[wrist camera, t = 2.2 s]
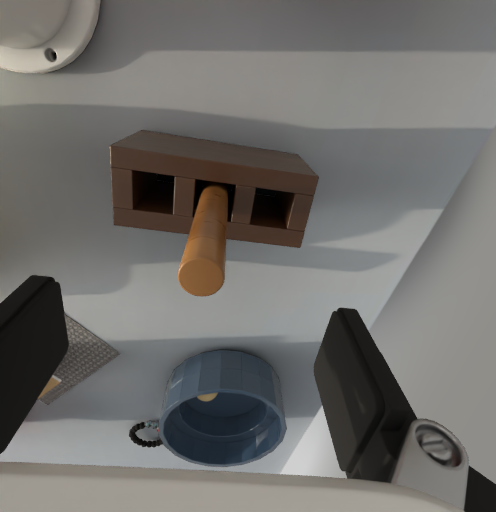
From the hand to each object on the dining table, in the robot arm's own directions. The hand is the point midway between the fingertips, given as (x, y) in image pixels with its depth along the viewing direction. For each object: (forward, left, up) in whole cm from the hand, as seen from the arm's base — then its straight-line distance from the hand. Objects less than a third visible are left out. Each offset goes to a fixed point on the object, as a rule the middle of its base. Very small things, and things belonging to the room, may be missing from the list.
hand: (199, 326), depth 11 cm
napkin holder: (-19, -26, -21) cm, 38 cm away
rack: (0, 0, -21) cm, 21 cm away
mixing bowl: (+4, -29, -21) cm, 36 cm away
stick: (0, 0, -21) cm, 21 cm away
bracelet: (-6, -40, -21) cm, 45 cm away
